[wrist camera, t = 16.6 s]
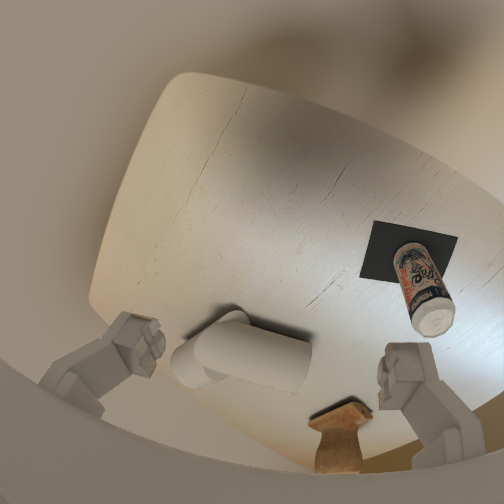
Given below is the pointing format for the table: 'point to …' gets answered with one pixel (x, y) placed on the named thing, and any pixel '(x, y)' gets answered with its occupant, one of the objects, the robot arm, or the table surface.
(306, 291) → the table surface
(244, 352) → the l-shaped cylinder
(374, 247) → the mat
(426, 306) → the beer can
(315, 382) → the table surface
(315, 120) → the table surface
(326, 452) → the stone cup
